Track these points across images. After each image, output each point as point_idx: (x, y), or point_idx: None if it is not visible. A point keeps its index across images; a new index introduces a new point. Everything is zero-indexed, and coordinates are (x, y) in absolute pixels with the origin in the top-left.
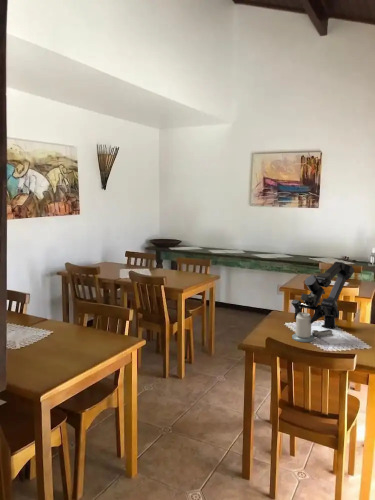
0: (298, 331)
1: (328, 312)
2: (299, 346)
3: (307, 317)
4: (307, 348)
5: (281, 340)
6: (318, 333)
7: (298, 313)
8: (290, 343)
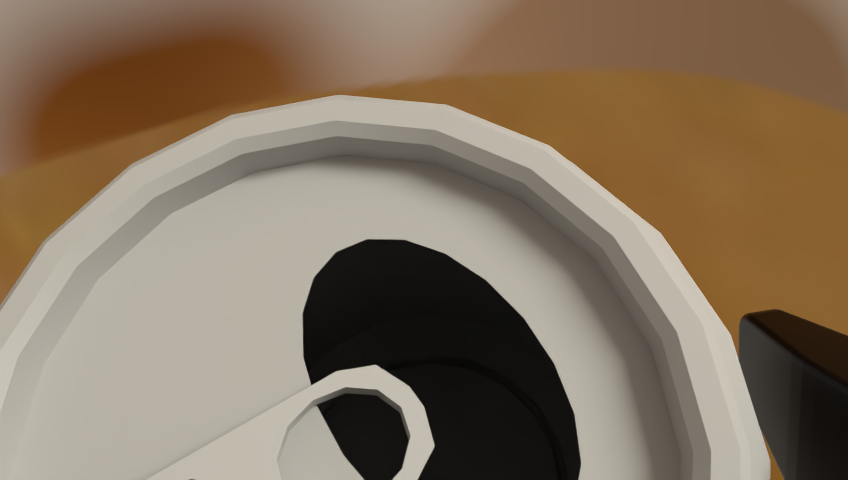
0: (419, 284)
1: None
2: (210, 121)
3: (21, 385)
4: (69, 162)
5: (594, 69)
6: None
7: (655, 302)
8: (396, 96)
